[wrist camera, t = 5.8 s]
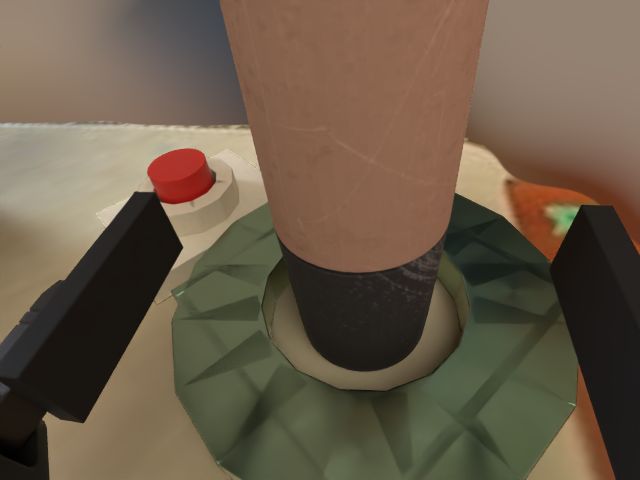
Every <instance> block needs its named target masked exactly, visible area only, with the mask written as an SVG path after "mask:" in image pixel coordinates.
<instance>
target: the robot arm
mask: <svg viewBox="0 0 640 480" xmlns="http://www.w3.org/2000/svg"><path fill="white" fill-rule="evenodd" d="M183 248H184V247H183V245H182V243H181V241H180V239H179V237H178V235H177V234H176V232H175V230H174V228H173V226H172V224H171V222H170V220H169V218H168V216H167V214H166V212H165V210H164V208H163V206H162V204H161V202H160V201H159V199H158V197H157V195H156V193H155V192H134V194H133V195H132V196H131V197H130V199H129V200H128V201H127V202H126V204H125V205H124V206H123V207H122V209H121V210H120V211H119V213H118V214H117V215H116V216H115V218H114V219H113V220H112V221H111V223H110V224H109V225H108V226H107V228H106V229H105V230H104V231H103V233H102V234H101V235H100V236H99V238H98V239H97V240H96V241H95V243H94V244H93V245H92V246H91V248H90V249H89V250H88V251H87V253H86V254H85V255H84V256H83V258H82V259H81V260H80V261H79V263H78V264H77V265H76V266H75V268H74V269H73V270H72V271H71V273H70V274H69V275H68V276H67V278H66V279H65V280H59V281H58V282H56V283H55V284H54V285H52V286H51V287H50V288H49V289H47V290H46V291H45V292H43V293H42V294H41V296H40V297H39V298H38V299H37V300H36V302H35V303H34V304H33V305H32V307H31V308H30V311H29V312H27V313H26V314H25V315H24V316H23V317H22V319H21V320H20V321H19V322H20V323H19V325H16V326H15V327H14V328H13V330H12V331H11V332H10V333H9V335H8V336H7V337H6V338H5V339H4V341H3V342H2V343H1V344H0V480H49V461H48V441H47V427H46V424H45V421H43V420H42V418H43V417H44V415H45V414H46V412H49V413H51V414H52V415H54V416H55V417H57V418H59V419H61V420H67V421H73V422H79V423H84V422H85V421H86V419H87V417H88V415H89V413H90V412H91V410H92V408H93V406H94V405H95V403H96V401H97V399H98V398H99V396H100V394H101V392H102V391H103V389H104V387H105V385H106V384H107V382H108V380H109V378H110V376H111V375H112V373H113V371H114V369H115V368H116V366H117V364H118V362H119V361H120V359H121V357H122V355H123V354H124V352H125V350H126V348H127V346H128V345H129V343H130V341H131V339H132V338H133V336H134V334H135V332H136V331H137V329H138V327H139V325H140V324H141V322H142V320H143V318H144V316H145V315H146V313H147V311H148V309H149V308H150V306H151V304H152V302H153V301H154V299H155V297H156V295H157V294H158V292H159V290H160V288H161V287H162V285H163V283H164V281H165V279H166V278H167V276H168V274H169V272H170V271H171V269H172V267H173V265H174V264H175V262H176V260H177V258H178V257H179V255H180V253H181V251H182V249H183ZM549 272H550V275H551V278H552V281H553V284H554V287H555V290H556V293H557V297H558V300H559V303H560V306H561V309H562V312H563V315H564V319H565V322H566V325H567V328H568V331H569V334H570V337H571V340H572V344H573V347H574V350H575V353H576V356H577V359H578V362H579V366H580V369H581V372H582V375H583V378H584V381H585V384H586V387H587V391H588V394H589V397H590V400H591V403H592V406H593V409H594V413H595V416H596V419H597V422H598V425H599V428H600V431H601V434H602V438H603V441H604V444H605V447H606V450H607V453H608V456H609V460H610V463H611V466H612V469H613V472H614V475H615V478H616V480H640V255H639V253H638V251H637V250H636V248H635V246H634V244H633V242H632V240H631V239H630V237H629V235H628V234H627V231H626V230H625V228H624V226H623V224H622V222H621V220H620V219H619V217H618V215H617V213H616V211H615V210H614V208H613V206H598V205H581V207H580V209H579V211H578V213H577V215H576V217H575V219H574V220H573V222H572V224H571V226H570V228H569V230H568V232H567V234H566V236H565V238H564V240H563V242H562V244H561V246H560V248H559V250H558V252H557V254H556V256H555V258H554V260H553V262H552V264H551V266H550V268H549Z"/></svg>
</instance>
